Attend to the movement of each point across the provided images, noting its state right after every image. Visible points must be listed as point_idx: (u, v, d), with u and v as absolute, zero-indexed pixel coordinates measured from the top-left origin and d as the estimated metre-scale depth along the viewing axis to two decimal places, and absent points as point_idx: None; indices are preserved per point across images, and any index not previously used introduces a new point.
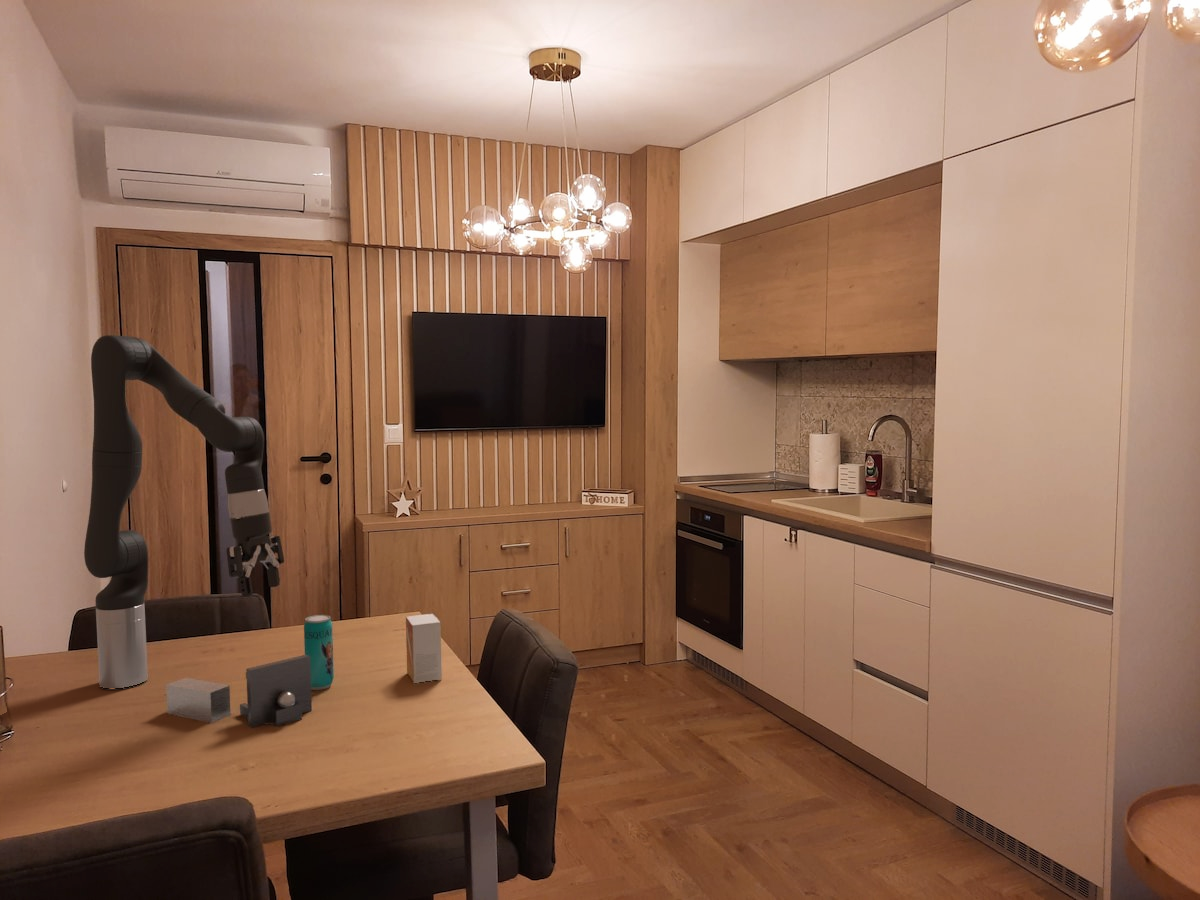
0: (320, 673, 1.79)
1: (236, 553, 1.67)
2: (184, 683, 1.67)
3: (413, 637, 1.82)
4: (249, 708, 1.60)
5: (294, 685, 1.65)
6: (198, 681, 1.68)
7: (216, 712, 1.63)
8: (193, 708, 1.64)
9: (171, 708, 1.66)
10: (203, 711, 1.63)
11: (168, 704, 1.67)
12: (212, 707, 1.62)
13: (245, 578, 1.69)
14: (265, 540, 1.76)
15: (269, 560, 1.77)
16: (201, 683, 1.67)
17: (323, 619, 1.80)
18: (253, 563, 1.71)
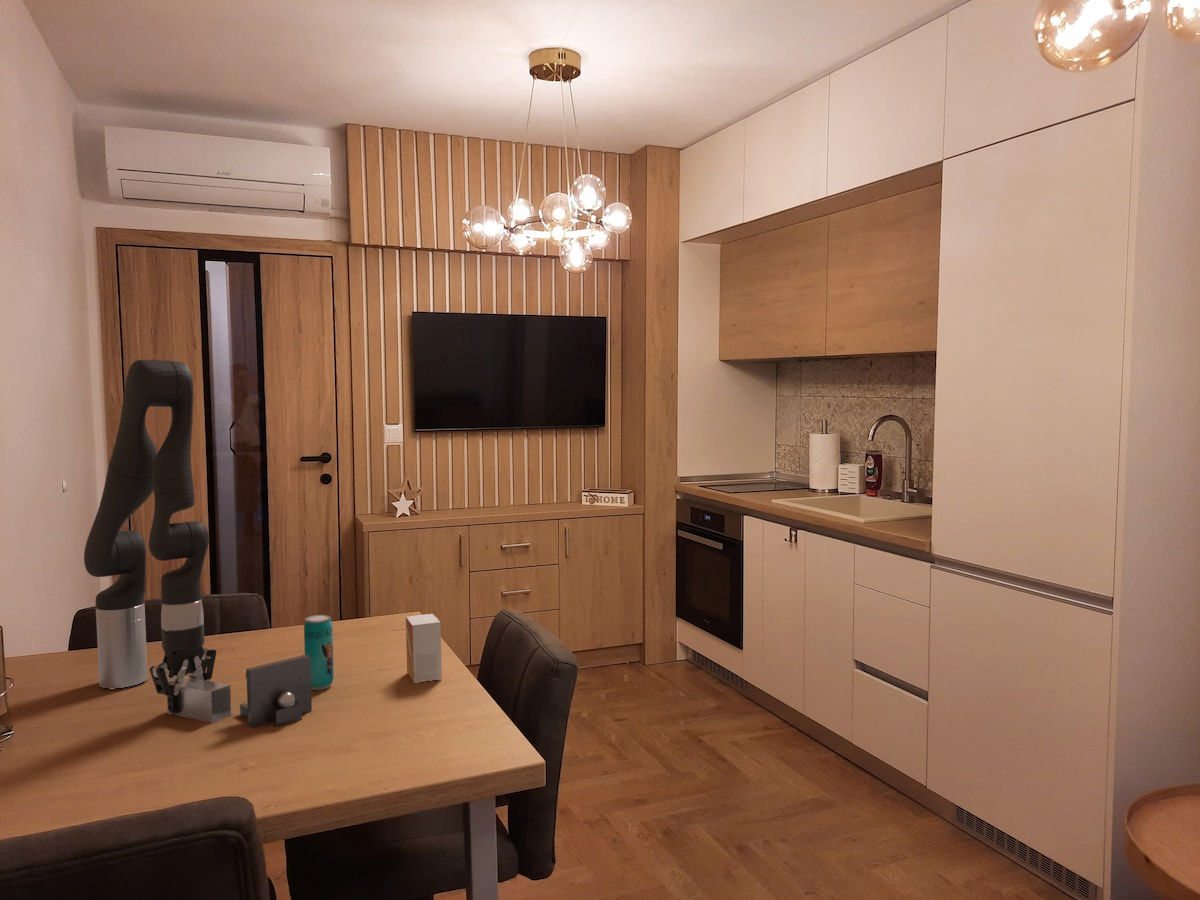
0: (320, 673, 1.79)
1: (159, 676, 1.61)
2: (184, 683, 1.67)
3: (413, 637, 1.82)
4: (249, 708, 1.60)
5: (294, 685, 1.65)
6: (198, 681, 1.68)
7: (216, 711, 1.63)
8: (194, 707, 1.64)
9: None
10: (204, 710, 1.63)
11: None
12: (213, 706, 1.62)
13: (174, 696, 1.65)
14: (198, 649, 1.69)
15: (195, 675, 1.69)
16: (202, 682, 1.67)
17: (323, 619, 1.80)
18: (181, 680, 1.65)
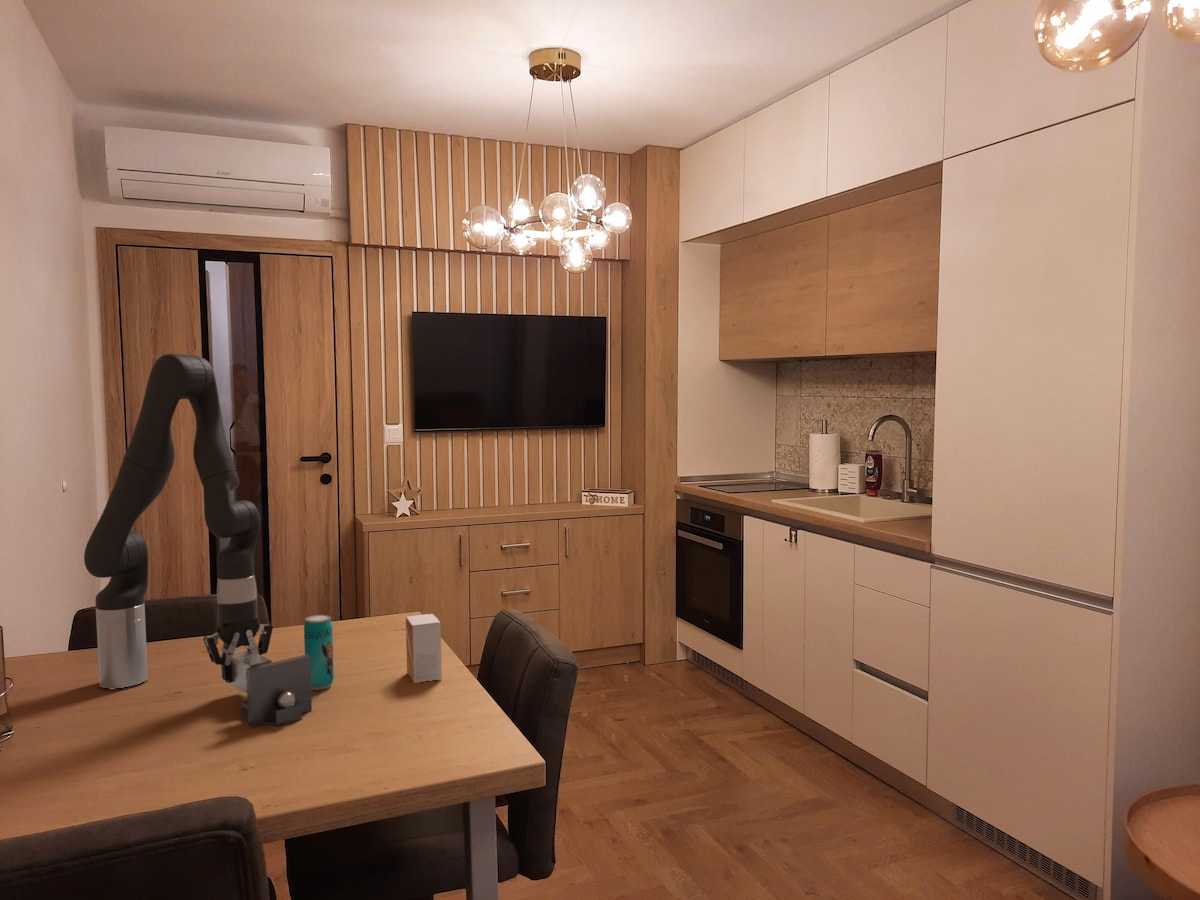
0: (320, 673, 1.79)
1: (209, 645, 1.71)
2: (238, 654, 1.75)
3: (413, 637, 1.82)
4: (249, 708, 1.60)
5: (294, 685, 1.65)
6: (251, 654, 1.76)
7: None
8: (240, 679, 1.71)
9: None
10: (246, 683, 1.70)
11: None
12: None
13: (226, 666, 1.74)
14: (252, 624, 1.77)
15: (249, 647, 1.77)
16: (252, 655, 1.75)
17: (323, 619, 1.80)
18: (232, 651, 1.73)
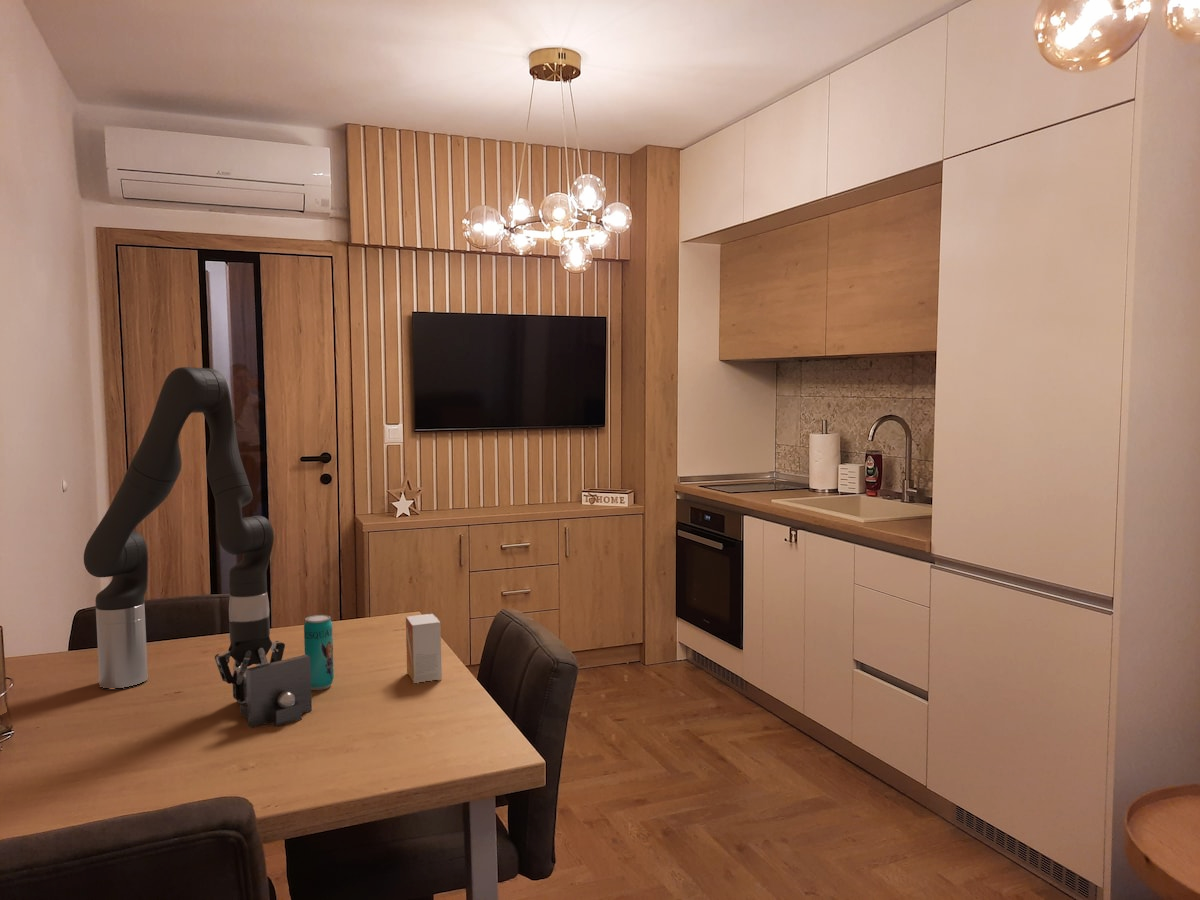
0: (320, 673, 1.79)
1: (220, 664, 1.67)
2: None
3: (413, 637, 1.82)
4: (249, 708, 1.60)
5: (294, 685, 1.65)
6: None
7: None
8: None
9: None
10: None
11: None
12: None
13: (238, 684, 1.70)
14: (264, 642, 1.73)
15: None
16: None
17: (323, 619, 1.80)
18: (243, 670, 1.70)
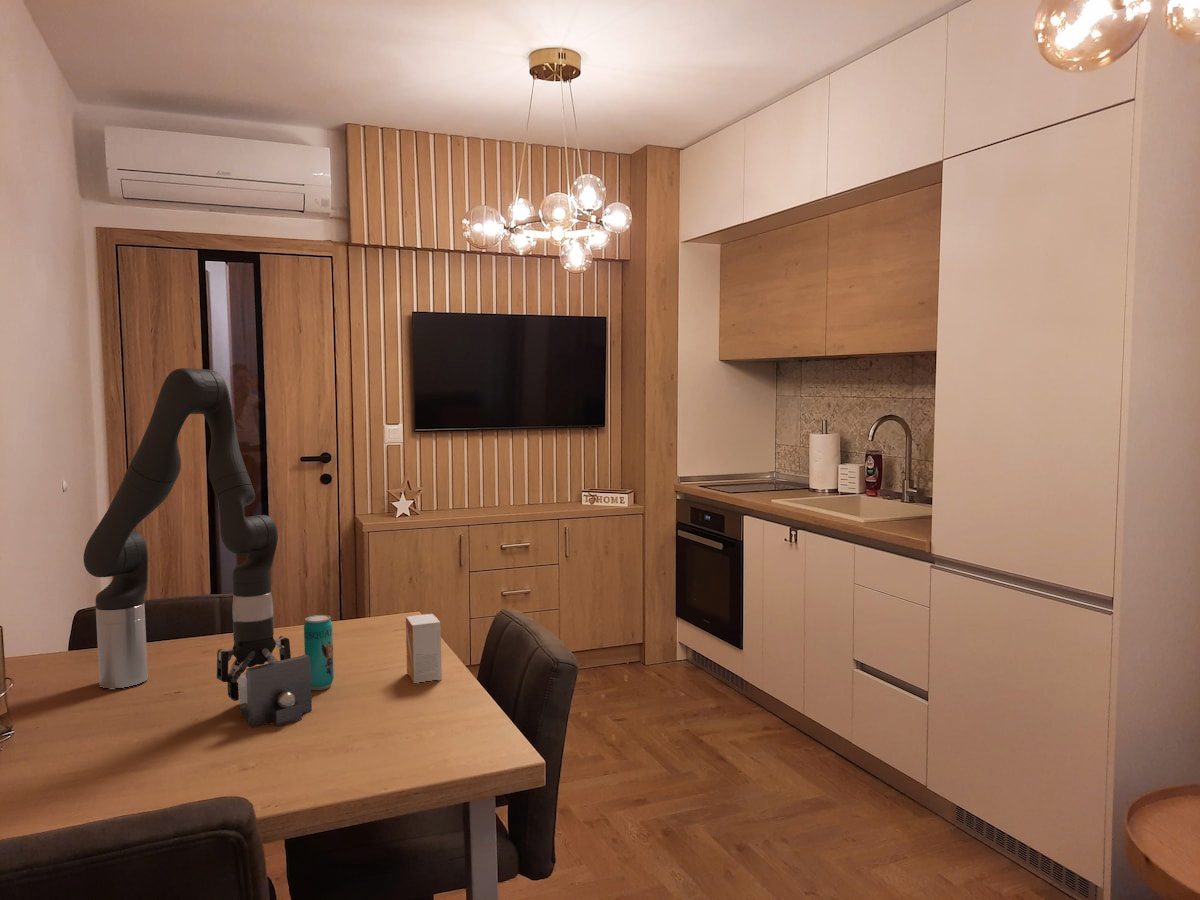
0: (320, 673, 1.79)
1: (221, 659, 1.65)
2: None
3: (413, 637, 1.82)
4: (249, 708, 1.60)
5: (294, 685, 1.65)
6: None
7: None
8: None
9: (242, 700, 1.71)
10: None
11: (240, 695, 1.71)
12: None
13: (231, 683, 1.67)
14: (267, 643, 1.72)
15: None
16: None
17: (323, 619, 1.80)
18: (242, 669, 1.68)
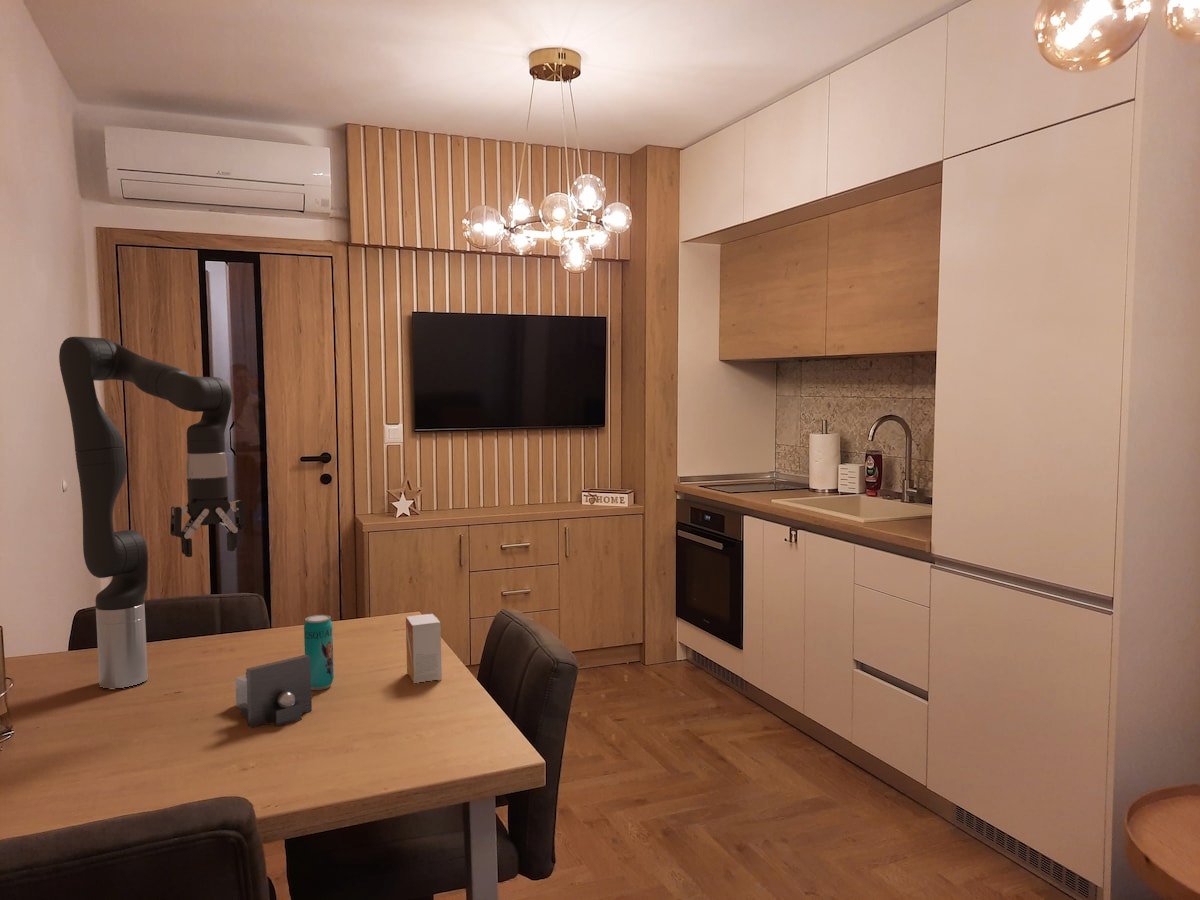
0: (320, 673, 1.79)
1: (175, 514, 1.68)
2: None
3: (413, 637, 1.82)
4: (249, 708, 1.60)
5: (294, 685, 1.65)
6: None
7: None
8: None
9: (239, 701, 1.70)
10: None
11: (237, 697, 1.70)
12: None
13: (185, 539, 1.69)
14: (221, 504, 1.74)
15: (225, 524, 1.75)
16: None
17: (323, 619, 1.80)
18: (195, 526, 1.70)
